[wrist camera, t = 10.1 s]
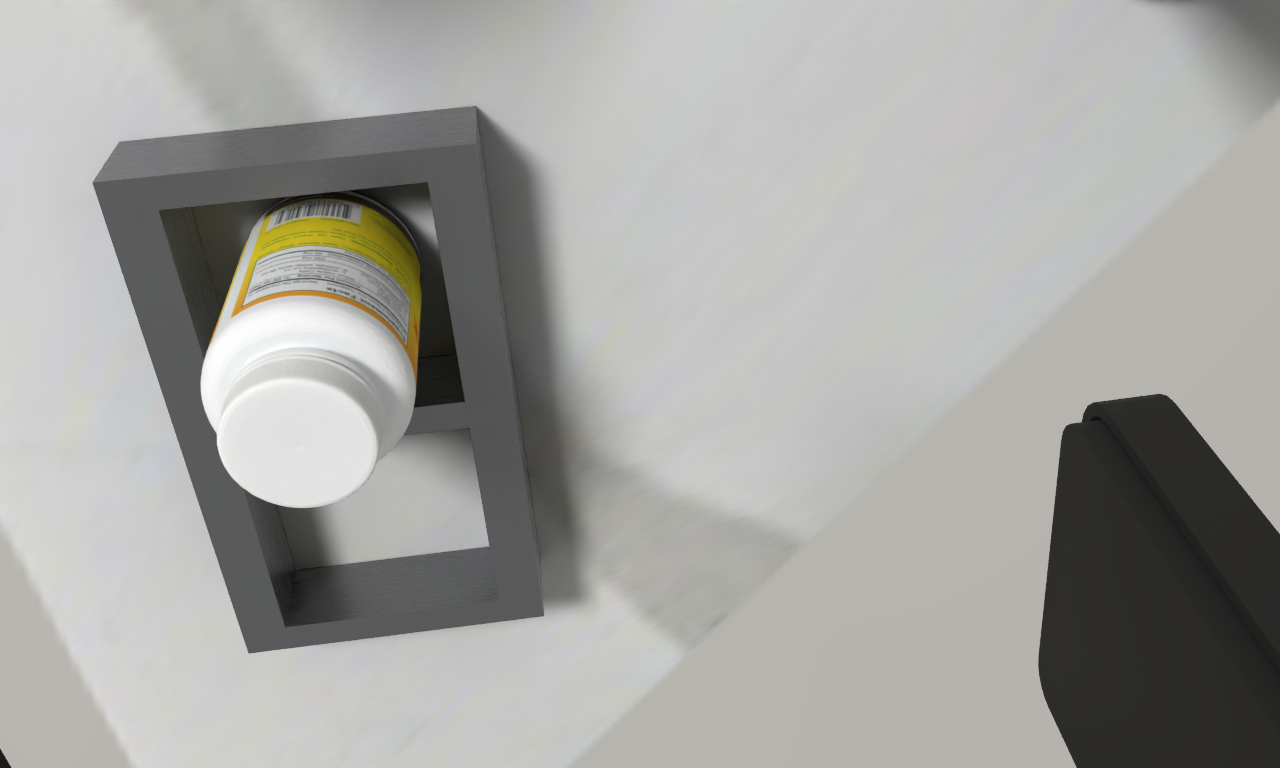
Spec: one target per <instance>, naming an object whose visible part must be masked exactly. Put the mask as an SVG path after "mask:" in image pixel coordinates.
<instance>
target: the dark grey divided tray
mask: <svg viewBox="0 0 1280 768" xmlns="http://www.w3.org/2000/svg"><path fill="white" fill-rule="evenodd" d="M424 182H428V187H429V193H430V199H431V204H432V210H433V216H434V222H435V228H436V234H437V240H438V246H439V251H440V257H441V263H442V269H443V275H444V281H445V287H446V293H447V299H448V304H449V310H450V316H451V322H452V328H453V334H454V340H455V346H456V351H457V354H453V355H444V356H435V357H426V358H418V364H417V381H416V396H415V403H414V408H413V413H412V417H411V420H410V423H409V425H408V427H407V429H406V431H405V433H404V435H411V434H419V433H428V432H437V431H445V430H454V429H462V428H470V434H471V440H472V446H473V451H474V457H475V463H476V469H477V475H478V481H479V487H480V493H481V498H482V504H483V510H484V516H485V522H486V528H487V534H488V540H489V546H490V547H484V548H476V549H468V550H460V551H452V552H443V553H435V554H427V555H419V556H411V557H403V558H394V559H386V560H378V561H370V562H362V563H354V564H346V565H337V566H329V567H321V568H313V569H305V570H297V571H296V570H295V567H294V563H293V560H292V556H291V553H290V549H289V546H288V542H287V539H286V535H285V532H284V528H283V525H282V521H281V518H280V514H279V511H278V507H277V504H273V503H270V502H267V501H265V500H262V499H260V498H258V497H256V496H254V495H253V494H251V493H250V492H248V491H247V490H245V489H244V488H242V487H241V486H240V485H239V484H238V483H237V482H236V481H235V480H234V479H233V478H232V477H231V476H230V474H229V473H228V471H227V470H226V468H225V467H224V465H223V463H222V460H221V458H220V455H219V451H218V447H217V433H216V432H215V430H214V429H213V427H212V425H211V424H210V422H209V419H208V417H207V415H206V412H205V410H204V406H203V402H202V396H201V374H202V367H203V363H204V359H205V356H206V352H207V350H208V347H209V344H210V341H211V339H212V336H213V333H214V330H215V327H216V325H217V322H218V319H219V316H220V314H221V309H220V306H219V302H218V299H217V295H216V292H215V288H214V285H213V281H212V278H211V274H210V271H209V267H208V264H207V260H206V257H205V253H204V250H203V246H202V243H201V240H200V236H199V233H198V229H197V226H196V222H195V219H194V215H193V212H192V208H191V207H193V206H203V205H213V204H222V203H232V202H242V201H251V200H261V199H270V198H280V197H290V196H299V195H309V194H318V193H328V192H338V191H347V190H357V189H367V188H376V187H386V186H395V185H405V184H415V183H424ZM93 185H94V188H95V191H96V194H97V197H98V200H99V203H100V206H101V210H102V213H103V216H104V219H105V222H106V225H107V228H108V231H109V234H110V237H111V240H112V243H113V246H114V249H115V252H116V255H117V258H118V261H119V264H120V267H121V270H122V273H123V276H124V279H125V282H126V285H127V288H128V291H129V294H130V297H131V300H132V303H133V306H134V309H135V312H136V315H137V318H138V321H139V324H140V327H141V330H142V333H143V336H144V339H145V342H146V345H147V348H148V351H149V354H150V357H151V360H152V363H153V366H154V369H155V372H156V375H157V378H158V381H159V384H160V387H161V390H162V393H163V396H164V399H165V403H166V406H167V409H168V412H169V415H170V418H171V421H172V424H173V427H174V430H175V433H176V436H177V439H178V442H179V445H180V448H181V451H182V454H183V457H184V460H185V463H186V466H187V469H188V472H189V475H190V478H191V481H192V484H193V487H194V490H195V493H196V496H197V499H198V502H199V505H200V508H201V511H202V514H203V517H204V520H205V523H206V526H207V529H208V532H209V535H210V538H211V541H212V544H213V547H214V550H215V553H216V556H217V559H218V562H219V565H220V568H221V571H222V574H223V577H224V580H225V583H226V586H227V589H228V593H229V596H230V599H231V602H232V605H233V608H234V611H235V614H236V617H237V620H238V623H239V626H240V629H241V632H242V635H243V638H244V641H245V644H246V647H247V650H248V653H256V652H263V651H271V650H279V649H287V648H295V647H303V646H311V645H319V644H327V643H335V642H342V641H350V640H358V639H366V638H374V637H382V636H390V635H398V634H406V633H414V632H421V631H429V630H437V629H445V628H453V627H461V626H469V625H477V624H485V623H493V622H500V621H508V620H516V619H524V618H532V617H540V616H544V608H543V594H542V579H541V564H540V556H539V549H538V542H537V534H536V527H535V520H534V513H533V506H532V499H531V492H530V485H529V478H528V471H527V464H526V457H525V450H524V443H523V436H522V429H521V422H520V415H519V407H518V400H517V393H516V386H515V379H514V372H513V365H512V358H511V351H510V344H509V337H508V330H507V323H506V316H505V309H504V302H503V295H502V288H501V280H500V273H499V266H498V259H497V252H496V245H495V238H494V231H493V224H492V217H491V210H490V203H489V196H488V189H487V182H486V175H485V168H484V160H483V153H482V146H481V139H480V132H479V125H478V118H477V111H476V106H473V107H463V108H453V109H443V110H433V111H423V112H413V113H403V114H393V115H384V116H374V117H364V118H354V119H344V120H334V121H324V122H314V123H304V124H294V125H284V126H274V127H264V128H254V129H244V130H234V131H224V132H214V133H204V134H194V135H184V136H174V137H164V138H155V139H145V140H135V141H125V142H119V143H118V145H117V146H116V148H115V149H114V151H113V152H112V154H111V155H110V157H109V158H108V160H107V161H106V163H105V164H104V166H103V167H102V169H101V171H100V172H99V174H98V175H97V177H96V178H95V180H94V181H93Z"/></svg>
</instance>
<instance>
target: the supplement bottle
mask: <svg viewBox="0 0 1280 768" xmlns="http://www.w3.org/2000/svg"><path fill="white" fill-rule="evenodd" d="M422 279H423V272H422V263H421V258H420V254H419V251H418V248H417V245H416V243H415V241H414V239H413V237H412V235H411V234H410V232H409V231H408V229H407V228H406V227H405V225H404V224H403V223H402V222H401V221H400V220H399V219H398V217H397V216H395V215H394V214H393V213H392V212H391V211H390V210H388V209H387V208H385V207H384V206H382V205H381V204H379V203H378V202H376V201H374V200H372V199H370V198H368V197H365V196H363V195H360V194H357V193H354V192H349V191H338V192H328V193H318V194H309V195H299V196H290V197H288V198H285V199H284V200H282V201H280V202H279V203H277V204H275V205H274V206H273V207H271V208H270V209H269V210H267V211H266V212H265V213H264V214H263V215H262V216H261V217H260V219H259V220H258V221H257V222H256V224H255V225H254V227H253V229H252V230H251V232H250V234H249V236H248V238H247V241H246V243H245V245H244V248H243V251H242V254H241V257H240V259H239V263H238V265H237V268H236V271H235V274H234V277H233V279H232V283H231V285H230V288H229V291H228V294H227V297H226V299H225V302H224V305H223V308H222V311H221V314H220V316H219V319H218V322H217V325H216V327H215V330H214V333H213V336H212V339H211V341H210V344H209V347H208V350H207V352H206V356H205V359H204V363H203V367H202V374H201V396H202V402H203V406H204V410H205V412H206V415H207V417H208V419H209V422H210V424H211V425H212V427H213V429H214V430H215V432H216V433H217V447H218V451H219V455H220V458H221V460H222V463H223V465H224V467H225V468H226V470H227V471H228V473H229V474H230V476H231V477H232V478H233V479H234V480H235V481H236V482H237V483H238V484H239V485H240V486H241V487H242V488H244V489H245V490H247V491H248V492H250V493H251V494H253V495H254V496H256V497H258V498H260V499H262V500H265V501H267V502H270V503H273V504H277V505H280V506H285V507H291V508H314V507H321V506H326V505H329V504H333V503H335V502H338V501H341V500H343V499H345V498H346V497H348V496H350V495H351V494H353V493H355V492H356V491H357V490H358V489H359V488H361V487H362V486H363V485H364V484H365V482H366V481H367V480H368V479H369V477H370V476H371V474H372V473H373V471H374V468H375V466H376V463H377V462H378V461H379V460H380V459H381V458H383V457H384V456H385V455H386V454H387V453H389V452H390V451H391V450H392V449H393V448H394V447H395V446H396V444H397V443H398V442H399V440H400V439H401V438H402V436H403V435H404V433H405V431H406V429H407V427H408V425H409V423H410V420H411V417H412V413H413V408H414V403H415V396H416V381H417V364H418V346H419V332H420V314H421V298H422Z"/></svg>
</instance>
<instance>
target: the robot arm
mask: <svg viewBox="0 0 1280 768" xmlns="http://www.w3.org/2000/svg"><path fill="white" fill-rule="evenodd" d="M1038 665H1039V676H1040V681H1041V686H1042V690H1043V693H1044V697H1045V700H1046V702H1047V705H1048V707H1049V709H1050V711H1051V713H1052V715H1053V718H1054V720H1055V722H1056V724H1057V726H1058V728H1059V730H1060V733H1061V735H1062V737H1063V739H1064V741H1065V743H1066V745H1067V747H1068V750H1069V752H1070V754H1071V756H1072V758H1073V760H1074V763H1075V765H1076V767H1077V768H1280V534H1279V533H1278V532H1277V530H1276V529H1275V528H1274V527H1273V525H1272V524H1271V523H1270V521H1269V520H1268V519H1267V518H1266V516H1265V515H1264V514H1263V513H1262V512H1261V510H1260V509H1259V508H1258V506H1257V505H1256V504H1255V503H1254V502H1253V500H1252V499H1251V498H1250V496H1249V495H1248V494H1247V493H1246V491H1245V490H1244V489H1243V488H1242V486H1241V485H1240V484H1239V483H1238V481H1237V480H1236V479H1235V478H1234V476H1233V475H1232V474H1231V473H1230V471H1229V470H1228V469H1227V468H1226V466H1225V465H1224V464H1223V463H1222V461H1221V460H1220V459H1219V458H1218V456H1217V455H1216V454H1215V453H1214V451H1213V450H1212V449H1211V448H1210V447H1209V445H1208V444H1207V443H1206V441H1205V440H1204V439H1203V438H1202V436H1201V435H1200V434H1199V433H1198V431H1197V430H1196V429H1195V428H1194V426H1193V425H1192V424H1191V423H1190V421H1189V420H1188V419H1187V418H1186V416H1185V415H1184V414H1183V412H1182V411H1181V410H1180V409H1179V408H1178V406H1177V405H1176V404H1175V403H1174V402H1173V401H1172V400H1171V399H1170V398H1169V397H1168V396H1166V395H1162V394H1155V395H1148V396H1140V397H1133V398H1125V399H1118V400H1111V401H1110V400H1109V401H1103V402H1095V403H1092V404H1090V405H1088V406H1087V408H1086V410H1085V412H1084V414H1083V420H1082V422H1081V423H1074V424H1069V425H1067V426H1066V427H1065V429H1064V431H1063V435H1062V440H1061V448H1060V458H1059V468H1058V477H1057V487H1056V496H1055V506H1054V515H1053V525H1052V534H1051V544H1050V553H1049V563H1048V572H1047V583H1046V591H1045V601H1044V611H1043V620H1042V629H1041V639H1040V648H1039V664H1038ZM0 768H11V766H10V765H9V763H8V761H7V760H6V758H5V756H4V755H3V753H2V751H1V749H0Z"/></svg>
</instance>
